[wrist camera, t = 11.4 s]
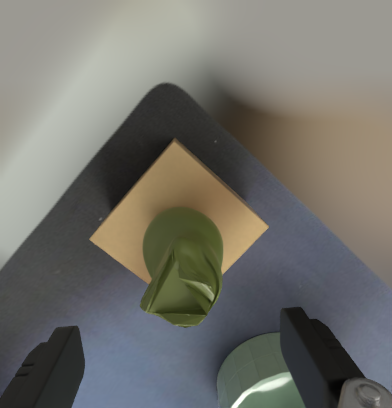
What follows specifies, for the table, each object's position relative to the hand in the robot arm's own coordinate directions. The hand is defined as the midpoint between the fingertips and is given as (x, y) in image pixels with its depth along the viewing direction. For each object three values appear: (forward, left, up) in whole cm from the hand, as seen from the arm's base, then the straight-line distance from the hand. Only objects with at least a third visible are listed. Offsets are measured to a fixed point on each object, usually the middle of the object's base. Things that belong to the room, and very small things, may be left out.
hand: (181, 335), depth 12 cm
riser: (0, 0, -20) cm, 20 cm away
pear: (0, 0, -12) cm, 12 cm away
